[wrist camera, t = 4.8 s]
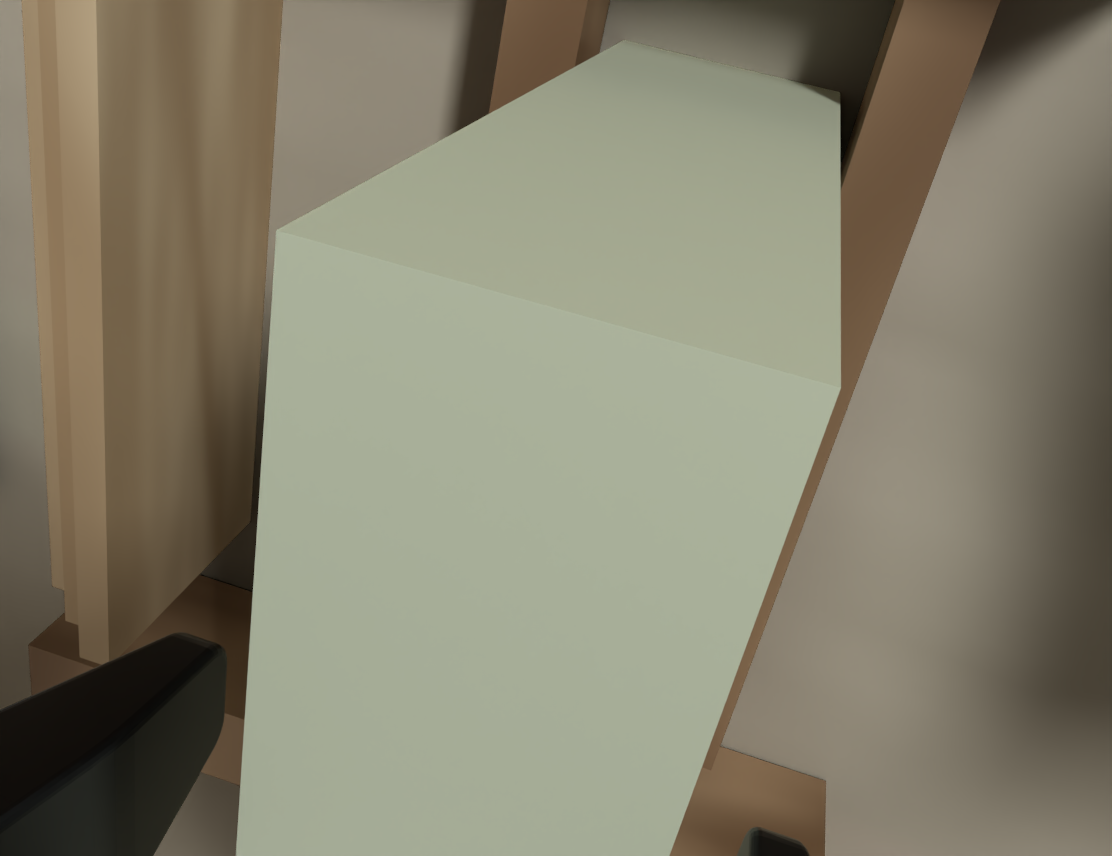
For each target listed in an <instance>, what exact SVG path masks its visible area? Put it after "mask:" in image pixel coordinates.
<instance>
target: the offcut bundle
mask: <svg viewBox="0 0 1112 856" xmlns="http://www.w3.org/2000/svg"><path fill="white" fill-rule="evenodd" d="M282 8H283V0H22V18H23V37H24V57H25V76H26V95H27V114H28V133H29V152H30V172H31V191H32V210H33V229H34V248H35V268H36V287H37V306H38V325H39V344H40V363H41V383H42V402H43V421H44V440H45V459H46V478H47V498H48V517H49V536H50V555H51V574H52V587H55V588H58V589H61V590H64V599H65V621H67V622H70V623H73V624H76V625H78V628H79V655H80V658H83V659H86V660H89V661H92V662H95V663H98V664H101V665H102V664H104V663H106V662H109V661H111V660H113V659H115V658H117V657H120V656H121V655H122V653H123V652H124V651H125V650H126V649H127V648H128V647H129V646H130V645H131V644H132V643H133V642H134V641H135V640H136V639H137V638H138V637H139V636H140V635H141V634H142V633H143V632H144V631H145V630H146V629H147V628H148V627H149V626H150V625H151V624H152V623H153V622H154V621H155V619H156V618H157V617H158V616H159V615H160V614H161V613H162V612H163V611H164V610H165V609H166V608H167V607H168V606H169V605H170V604H171V603H172V602H173V601H174V600H175V599H176V598H177V597H178V596H179V595H180V594H181V593H182V592H183V591H184V590H185V589H186V588H187V587H188V585H189V584H190V583H191V582H192V581H193V580H194V579H195V578H196V577H197V576H198V575H199V574H200V573H201V572H202V571H203V570H204V569H205V568H206V567H207V566H208V565H209V564H210V563H211V562H212V561H213V560H214V559H215V558H216V557H217V556H218V555H219V554H220V553H221V551H222V550H223V549H224V548H225V547H226V546H227V545H228V544H229V543H230V542H231V541H232V540H233V539H234V538H235V537H236V536H237V535H238V534H239V533H240V532H241V531H242V530H243V529H244V528H245V527H246V526H247V525H248V524H249V523H250V520H251V504H252V488H253V472H254V456H255V440H256V424H257V408H258V392H259V376H260V360H261V344H262V328H263V312H264V296H265V280H266V264H267V248H268V232H269V216H270V200H271V184H272V168H273V152H274V136H275V120H276V104H277V88H278V72H279V56H280V40H281V24H282Z"/></svg>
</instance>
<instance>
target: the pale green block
mask: <svg viewBox="0 0 1112 856" xmlns="http://www.w3.org/2000/svg"><path fill="white" fill-rule="evenodd" d="M840 389H841V180H840V92H837V91H833V90H828V89H824V88H820V87H816V86H812V85H808V84H804V83H800V82H795V81H791V80H787V79H783V78H779V77H775V76H771V75H767V74H762V73H758V72H754V71H750V70H746V69H742V68H738V67H734V66H730V65H725V64H721V63H717V62H713V61H709V60H705V59H701V58H697V57H692V56H688V55H684V54H680V53H676V52H672V51H668V50H664V49H660V48H655V47H651V46H647V45H643V44H639V43H635V42H631V41H627V40H623V41H621V42H619V43H618V44H616V45H614V46H612V47H610V48H608V49H607V50H605V51H603V52H601V53H599V54H597V55H596V56H594V57H592V58H590V59H588V60H587V61H585V62H583V63H581V64H579V65H577V66H576V67H574V68H572V69H570V70H568V71H566V72H565V73H563V74H561V75H559V76H557V77H555V78H554V79H552V80H550V81H548V82H546V83H544V84H543V85H541V86H539V87H537V88H535V89H534V90H532V91H530V92H528V93H526V94H524V95H523V96H521V97H519V98H517V99H515V100H513V101H512V102H510V103H508V104H506V105H504V106H502V107H501V108H499V109H497V110H495V111H493V112H491V113H490V114H488V115H486V116H484V117H482V118H481V119H479V120H477V121H475V122H473V123H471V124H470V125H468V126H466V127H464V128H462V129H460V130H459V131H457V132H455V133H453V134H451V135H449V136H448V137H446V138H444V139H442V140H440V141H438V142H437V143H435V144H433V145H431V146H429V147H428V148H426V149H424V150H422V151H420V152H418V153H417V154H415V155H413V156H411V157H409V158H407V159H406V160H404V161H402V162H400V163H398V164H396V165H395V166H393V167H391V168H389V169H387V170H386V171H384V172H382V173H380V174H378V175H376V176H375V177H373V178H371V179H369V180H367V181H365V182H364V183H362V184H360V185H358V186H356V187H354V188H353V189H351V190H349V191H347V192H345V193H343V194H342V195H340V196H338V197H336V198H334V199H333V200H331V201H329V202H327V203H325V204H323V205H322V206H320V207H318V208H316V209H314V210H312V211H311V212H309V213H307V214H305V215H303V216H301V217H300V218H298V219H296V220H294V221H292V222H290V223H289V224H287V225H285V226H283V227H281V228H280V229H278V230H276V243H275V258H274V274H273V289H272V305H271V320H270V335H269V351H268V366H267V382H266V397H265V413H264V428H263V443H262V459H261V474H260V490H259V505H258V521H257V536H256V551H255V567H254V582H253V598H252V613H251V629H250V644H249V659H248V675H247V690H246V706H245V721H244V737H243V752H242V767H241V783H240V798H239V814H238V829H237V845H236V856H669V855H670V853H671V850H672V847H673V844H674V842H675V839H676V836H677V834H678V831H679V828H680V825H681V823H682V820H683V817H684V814H685V812H686V809H687V806H688V804H689V801H690V798H691V795H692V793H693V790H694V787H695V784H696V782H697V779H698V776H699V774H700V771H701V768H702V765H703V763H704V760H705V757H706V754H707V752H708V749H709V746H710V744H711V741H712V738H713V735H714V733H715V730H716V727H717V725H718V722H719V719H720V716H721V714H722V711H723V708H724V705H725V703H726V700H727V697H728V695H729V692H730V689H731V686H732V684H733V681H734V678H735V675H736V673H737V670H738V667H739V665H740V662H741V659H742V656H743V654H744V651H745V648H746V645H747V643H748V640H749V637H750V635H751V632H752V629H753V626H754V624H755V621H756V618H757V615H758V613H759V610H760V607H761V605H762V602H763V599H764V596H765V594H766V591H767V588H768V585H769V583H770V580H771V577H772V575H773V572H774V569H775V566H776V564H777V561H778V558H779V555H780V553H781V550H782V547H783V545H784V542H785V539H786V536H787V534H788V531H789V528H790V526H791V523H792V520H793V517H794V515H795V512H796V509H797V506H798V504H799V501H800V498H801V496H802V493H803V490H804V487H805V485H806V482H807V479H808V476H809V474H810V471H811V468H812V466H813V463H814V460H815V457H816V455H817V452H818V449H819V446H820V444H821V441H822V438H823V436H824V433H825V430H826V427H827V425H828V422H829V419H830V416H831V414H832V411H833V408H834V406H835V403H836V400H837V397H838V395H839V392H840Z"/></svg>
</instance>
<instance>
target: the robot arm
mask: <svg viewBox="0 0 1112 856" xmlns="http://www.w3.org/2000/svg"><path fill="white" fill-rule="evenodd" d="M226 676H227V654H226V651H225V649H224V648H223V647H222V646H221V645H219V644H218V643H215V642H212V641H209V640H206V639H203V638H200V637H197V636H194V635H191V634H188V633H184V632H177V633H172V634H169V635H167V636H164V637H162V638H160V639H158V640H155V641H153V642H151V643H149V644H146V645H144V646H142V647H140V648H138V649H135V650H133V651H131V652H129V653H126V654H124V655H122V656H120V657H117V658H115V659H113V660H111V661H109V662H106V663H104V664H102V665H100V666H97V667H95V668H93V669H91V670H88V671H86V672H84V673H82V674H79V675H77V676H75V677H73V678H71V679H68V680H66V681H64V682H62V683H59V684H57V685H55V686H53V687H50V688H48V689H46V690H44V691H41V692H39V693H37V694H35V695H33V696H30V697H28V698H26V699H24V700H21V701H19V702H17V703H15V704H12V705H10V706H8V707H6V708H4V709H1V710H0V856H153V855H154V853H155V852H156V850H157V848H158V846H159V845H160V843H161V841H162V839H163V838H164V836H165V834H166V832H167V831H168V829H169V827H170V825H171V823H172V822H173V820H174V818H175V816H176V815H177V813H178V811H179V809H180V808H181V806H182V804H183V802H184V801H185V799H186V797H187V795H188V793H189V792H190V790H191V788H192V786H193V785H194V783H195V781H196V779H197V778H198V776H199V774H200V772H201V771H202V769H203V767H204V765H205V763H206V762H207V760H208V758H209V756H210V755H211V753H212V751H213V749H214V747H215V745H216V743H217V741H218V739H219V736H220V733H221V730H222V727H223V722H224V714H225V695H226ZM737 856H810V855H809V852H808V850H807V848H806V847H805V846H804V845H803V844H802V843H801V842H800V841H799V840H797V839H794V838H791V837H788V836H785V835H782V834H779V833H776V832H773V831H770V830H767V829H764V828H761V827H754V828H751V829H750V830H749V831H748V832H747V833H746V835H745V837H744V839H743V842H742V844H741V846H740V849H739V851H738V853H737Z"/></svg>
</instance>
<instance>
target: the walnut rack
mask: <svg viewBox="0 0 1112 856" xmlns="http://www.w3.org/2000/svg"><path fill="white" fill-rule="evenodd" d="M609 3H610V0H507V3H506V9H505V15H504V21H503V28H502V34H501V40H500V46H499V53H498V59H497V65H496V71H495V78H494V84H493V90H492V96H491V103H490V109H489V114H490V113H491V112H493V111H495V110H497V109H499V108H501V107H502V106H504V105H506V104H508V103H510V102H512V101H513V100H515V99H517V98H519V97H521V96H523V95H524V94H526V93H528V92H530V91H532V90H534V89H535V88H537V87H539V86H541V85H543V84H544V83H546V82H548V81H550V80H552V79H554V78H555V77H557V76H559V75H561V74H563V73H565V72H566V71H568V70H570V69H572V68H574V67H576V66H577V65H579V64H581V63H583V62H585V61H587V60H588V59H590V58H592V57H594V56H596V55H597V54H599V52H600V47H601V42H602V37H603V32H604V27H605V22H606V18H607V13H608V8H609ZM999 3H1000V0H895V3H894V6H893V9H892V12H891V15H890V18H889V21H888V24H887V28H886V31H885V34H884V37H883V40H882V43H881V46H880V49H879V52H878V55H877V58H876V61H875V64H874V67H873V70H872V73H871V76H870V79H869V82H868V85H867V88H866V91H865V94H864V97H863V100H862V103H861V106H860V109H859V112H858V115H857V118H856V121H855V124H854V128H853V131H852V134H851V137H850V140H849V143H848V146H847V149H846V152H845V155H844V158H843V161H842V164H841V167H840V180H841V389H840V392H839V395H838V397H837V400H836V403H835V406H834V408H833V411H832V414H831V416H830V419H829V422H828V425H827V427H826V430H825V433H824V436H823V438H822V441H821V444H820V446H819V449H818V452H817V455H816V457H815V460H814V463H813V466H812V468H811V471H810V474H809V476H808V479H807V482H806V485H805V487H804V490H803V493H802V496H801V498H800V501H799V504H798V506H797V509H796V512H795V515H794V517H793V520H792V523H791V526H790V528H789V531H788V534H787V536H786V539H785V542H784V545H783V547H782V550H781V553H780V555H779V558H778V561H777V564H776V566H775V569H774V572H773V575H772V577H771V580H770V583H769V585H768V588H767V591H766V594H765V596H764V599H763V602H762V605H761V607H760V610H759V613H758V615H757V618H756V621H755V624H754V626H753V629H752V632H751V635H750V637H749V640H748V643H747V645H746V648H745V651H744V654H743V656H742V659H741V662H740V665H739V667H738V670H737V673H736V675H735V678H734V681H733V684H732V686H731V689H730V692H729V695H728V697H727V700H726V703H725V705H724V708H723V711H722V714H721V716H720V719H719V722H718V725H717V727H716V730H715V733H714V735H713V738H712V741H711V744H710V746H709V749H708V752H707V754H706V757H705V760H704V763H703V765H702V768H701V771H700V774H699V776H698V779H697V782H696V784H695V787H694V790H693V793H692V795H691V798H690V801H689V804H688V806H687V809H686V812H685V814H684V817H683V820H682V823H681V825H680V828H679V831H678V834H677V836H676V839H675V842H674V844H673V847H672V850H671V853H670V855H669V856H737V853H738V851H739V849H740V846H741V844H742V842H743V839H744V837H745V835H746V833H747V832H748V831H749V830H750V829H751V828H754V827H761V828H764V829H767V830H770V831H773V832H776V833H779V834H782V835H785V836H788V837H791V838H794V839H797V840H799V841H800V842H801V843H802V844H803V845H804V846H805V847H806V848H807V850H808V852H809V855H810V856H825V808H826V781H824V780H821V779H818V778H815V777H812V776H809V775H805V774H802V773H799V772H796V771H793V770H790V769H787V768H784V767H781V766H778V765H775V764H772V763H769V762H766V761H763V760H760V759H757V758H754V757H751V756H748V755H745V754H742V753H739V752H736V751H733V750H730V749H727V748H724V747H721V746H720V745H721V743H722V740H723V737H724V735H725V732H726V729H727V727H728V724H729V721H730V719H731V716H732V713H733V711H734V708H735V705H736V703H737V700H738V697H739V695H740V692H741V689H742V687H743V684H744V681H745V679H746V676H747V673H748V671H749V668H750V665H751V663H752V660H753V657H754V655H755V652H756V649H757V647H758V644H759V642H760V639H761V636H762V634H763V631H764V628H765V626H766V623H767V620H768V618H769V615H770V612H771V610H772V607H773V604H774V602H775V599H776V596H777V594H778V591H779V588H780V586H781V583H782V580H783V578H784V575H785V572H786V570H787V567H788V564H789V562H790V559H791V556H792V554H793V551H794V548H795V546H796V543H797V540H798V538H799V535H800V532H801V530H802V527H803V524H804V522H805V519H806V516H807V514H808V511H809V509H810V506H811V503H812V501H813V498H814V495H815V493H816V490H817V487H818V485H819V482H820V479H821V477H822V474H823V471H824V469H825V466H826V463H827V461H828V458H829V455H830V453H831V450H832V447H833V445H834V442H835V439H836V437H837V434H838V431H839V429H840V426H841V423H842V421H843V418H844V415H845V413H846V410H847V407H848V405H849V402H850V399H851V397H852V394H853V391H854V389H855V386H856V383H857V381H858V378H859V375H860V373H861V370H862V368H863V365H864V362H865V360H866V357H867V354H868V352H869V349H870V346H871V344H872V341H873V338H874V336H875V333H876V330H877V328H878V325H879V322H880V320H881V317H882V314H883V312H884V309H885V306H886V304H887V301H888V298H889V296H890V293H891V290H892V288H893V285H894V282H895V280H896V277H897V274H898V272H899V269H900V266H901V264H902V261H903V258H904V256H905V253H906V250H907V248H908V245H909V242H910V240H911V237H912V235H913V232H914V229H915V227H916V224H917V221H918V219H919V216H920V213H921V211H922V208H923V205H924V203H925V200H926V197H927V195H928V192H929V189H930V187H931V184H932V181H933V179H934V176H935V173H936V171H937V168H938V165H939V163H940V160H941V157H942V155H943V152H944V149H945V147H946V144H947V141H948V139H949V136H950V133H951V131H952V128H953V125H954V123H955V120H956V117H957V115H958V112H959V109H960V107H961V104H962V102H963V99H964V96H965V94H966V91H967V88H968V86H969V83H970V80H971V78H972V75H973V72H974V70H975V67H976V64H977V62H978V59H979V56H980V54H981V51H982V48H983V46H984V43H985V40H986V38H987V35H988V32H989V30H990V27H991V24H992V22H993V19H994V16H995V14H996V11H997V8H998V6H999ZM252 598H253V592H250V591H247V590H244V589H241V588H238V587H235V586H232V585H229V584H226V583H223V582H220V581H217V580H214V579H211V578H208V577H205V576H202V575H198V576H197V577H196V578H195V579H194V580H193V581H192V582H191V583H190V584H189V585H188V587H187V588H186V589H185V590H184V591H183V592H182V593H181V594H180V595H179V596H178V597H177V598H176V599H175V600H174V601H173V602H172V603H171V604H170V605H169V606H168V607H167V608H166V609H165V610H164V611H163V612H162V613H161V614H160V615H159V616H158V617H157V618H156V619H155V621H154V622H153V623H152V624H151V625H150V626H149V627H148V628H147V629H146V630H145V631H144V632H143V633H142V634H141V635H140V636H139V637H138V638H137V639H136V640H135V641H134V642H133V643H132V644H131V645H130V646H129V647H128V648H127V649H126V650H125V651H124V652H123V653H122V655H124V654H126V653H129V652H131V651H133V650H135V649H138V648H140V647H142V646H144V645H146V644H149V643H151V642H153V641H155V640H158V639H160V638H162V637H164V636H167V635H169V634H172V633H177V632H184V633H188V634H191V635H194V636H197V637H200V638H203V639H206V640H209V641H212V642H215V643H218V644H219V645H221V646H222V647H223V648H224V649H225V651H226V654H227V676H226V695H225V714H224V722H223V727H222V730H221V733H220V736H219V739H218V741H217V743H216V745H215V747H214V749H213V751H212V753H211V755H210V756H209V758H208V760H207V762H206V763H205V765H204V767H203V769H202V771H201V772H202V773H205V774H208V775H211V776H214V777H216V778H219V779H222V780H225V781H228V782H230V783H233V784H236V785H239V786H240V783H241V767H242V752H243V737H244V721H245V706H246V690H247V675H248V659H249V644H250V629H251V613H252ZM28 647H29V662H30V677H31V692H32V696H33V695H35V694H37V693H39V692H41V691H44V690H46V689H48V688H50V687H53V686H55V685H57V684H59V683H62V682H64V681H66V680H68V679H71V678H73V677H75V676H77V675H79V674H82V673H84V672H86V671H88V670H91V669H93V668H95V667H97V666H100V665H101V664H98V663H95V662H92V661H89V660H86V659H83V658H80V655H79V628H78V625H76V624H73V623H70V622H67V621H65V613H64V614H63V615H61V616H60V617H59V618H58V619H57V620H56V621H55V622H54V623H52V624H51V625H50V626H49V627H48V628H47V629H46V630H45V631H43V632H42V633H41V634H40V635H39V636H38V637H37V638H36V639H35V640H33V641H32V642H31V643H30V644H29V645H28ZM122 655H121V656H122Z"/></svg>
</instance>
